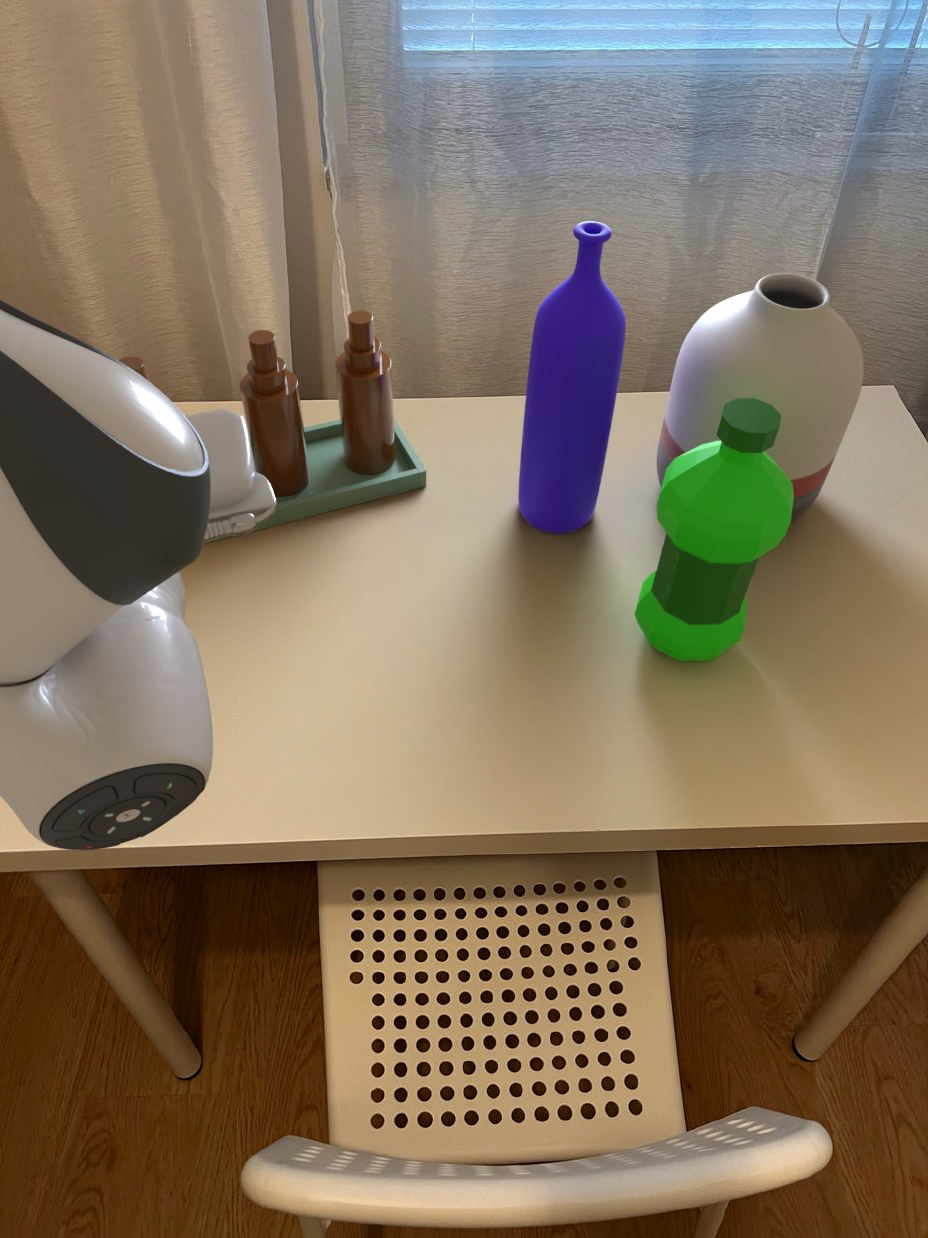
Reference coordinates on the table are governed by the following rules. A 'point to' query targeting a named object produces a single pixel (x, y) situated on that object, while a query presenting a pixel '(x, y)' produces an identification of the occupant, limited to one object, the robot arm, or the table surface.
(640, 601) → the plastic bottle
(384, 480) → the tray
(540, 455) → the bottle
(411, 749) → the table surface
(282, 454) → the row bottle
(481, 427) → the table surface
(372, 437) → the row bottle
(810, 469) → the vase
